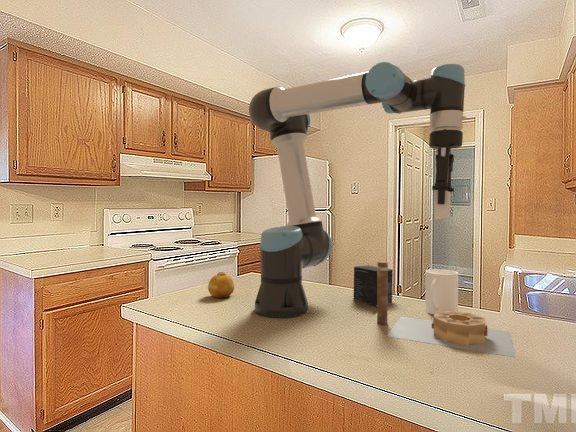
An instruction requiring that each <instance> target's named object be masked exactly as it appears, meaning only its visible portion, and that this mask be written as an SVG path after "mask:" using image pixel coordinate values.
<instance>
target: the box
mask: <svg viewBox="0 0 576 432" xmlns="http://www.w3.org/2000/svg"><path fill="white" fill-rule="evenodd" d="M352 297H353V300H355V301H357V302H358V301H359V302H361V303H365V304H368V305H369V304H370V305H371V306H372V305H373V306H376V307H377V266H374V265H369V264H368V265H358V266H354V267H353V296H352ZM388 303H389V304H390V303H391V304H392V303H393V268H392V269H391V268H388Z"/></svg>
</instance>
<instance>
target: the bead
mask: <svg viewBox="0 0 576 432" xmlns="http://www.w3.org/2000/svg"><path fill="white" fill-rule="evenodd" d="M432 321H433V322H432V328H433V329H434V336H436V337H438V338H440V339H442V340H444V341H446V342H451V343H458V344H464V345H474V344H481V343H485V336H487V328H488V325H486V318H485V317H482V316H479V315H477V314H474V313H472V312H465V311H464V312H463V311H459V310H458V311H443V312H436V313H435V315H433V320H432Z"/></svg>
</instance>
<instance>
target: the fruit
mask: <svg viewBox="0 0 576 432" xmlns="http://www.w3.org/2000/svg"><path fill="white" fill-rule="evenodd" d="M207 290H208V292H209V294H210V296H212V297H214V298H218V299H223V298H224V297H225V298H228V297H230V296H231V295H232V294H233V293H234V290H235V283H234V280H233V279H232V277H231V276H230V275H228V274H227V273H226V272H224V271H220V272H217V274H216V275H213V276H212V277H211V278H210V280H209V281H208V285H207Z"/></svg>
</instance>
